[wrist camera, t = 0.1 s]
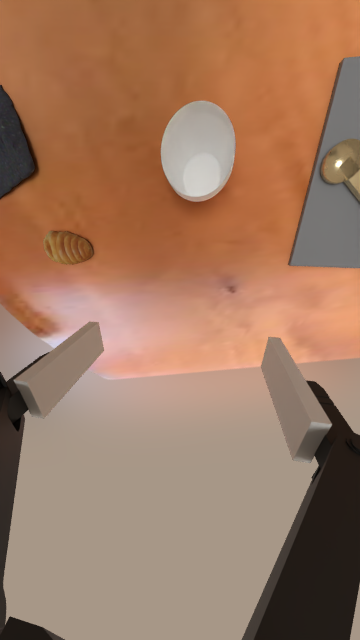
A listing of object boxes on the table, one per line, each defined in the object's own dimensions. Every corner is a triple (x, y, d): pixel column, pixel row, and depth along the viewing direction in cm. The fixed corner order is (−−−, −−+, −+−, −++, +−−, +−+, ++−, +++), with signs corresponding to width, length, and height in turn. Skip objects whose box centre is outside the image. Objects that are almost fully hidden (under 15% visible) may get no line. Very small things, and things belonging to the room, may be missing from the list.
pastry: (91, 232, 40) (80, 232, 36) (96, 264, 43) (87, 268, 39) (51, 230, 41) (36, 230, 37) (59, 262, 44) (46, 265, 40)
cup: (240, 165, 31) (254, 132, 20) (208, 218, 35) (206, 213, 24) (194, 130, 30) (184, 76, 19) (167, 189, 34) (146, 171, 23)
